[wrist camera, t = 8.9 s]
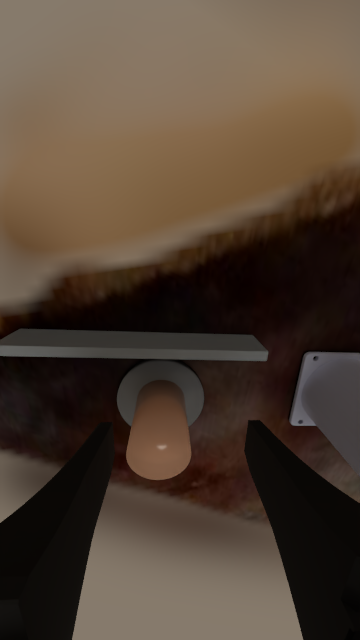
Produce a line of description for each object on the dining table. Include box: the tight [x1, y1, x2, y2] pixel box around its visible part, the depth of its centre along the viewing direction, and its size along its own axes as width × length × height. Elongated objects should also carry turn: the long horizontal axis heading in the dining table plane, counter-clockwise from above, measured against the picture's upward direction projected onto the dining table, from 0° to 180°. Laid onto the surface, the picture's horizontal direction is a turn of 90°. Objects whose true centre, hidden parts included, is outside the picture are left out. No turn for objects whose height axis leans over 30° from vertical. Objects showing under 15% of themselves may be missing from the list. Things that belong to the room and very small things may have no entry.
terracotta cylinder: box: [126, 380, 191, 480], centre depth 19 cm, size 4×4×6 cm
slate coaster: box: [117, 359, 204, 427], centre depth 22 cm, size 8×8×1 cm
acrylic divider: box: [0, 329, 268, 361], centre depth 19 cm, size 20×1×4 cm, turn 87°
